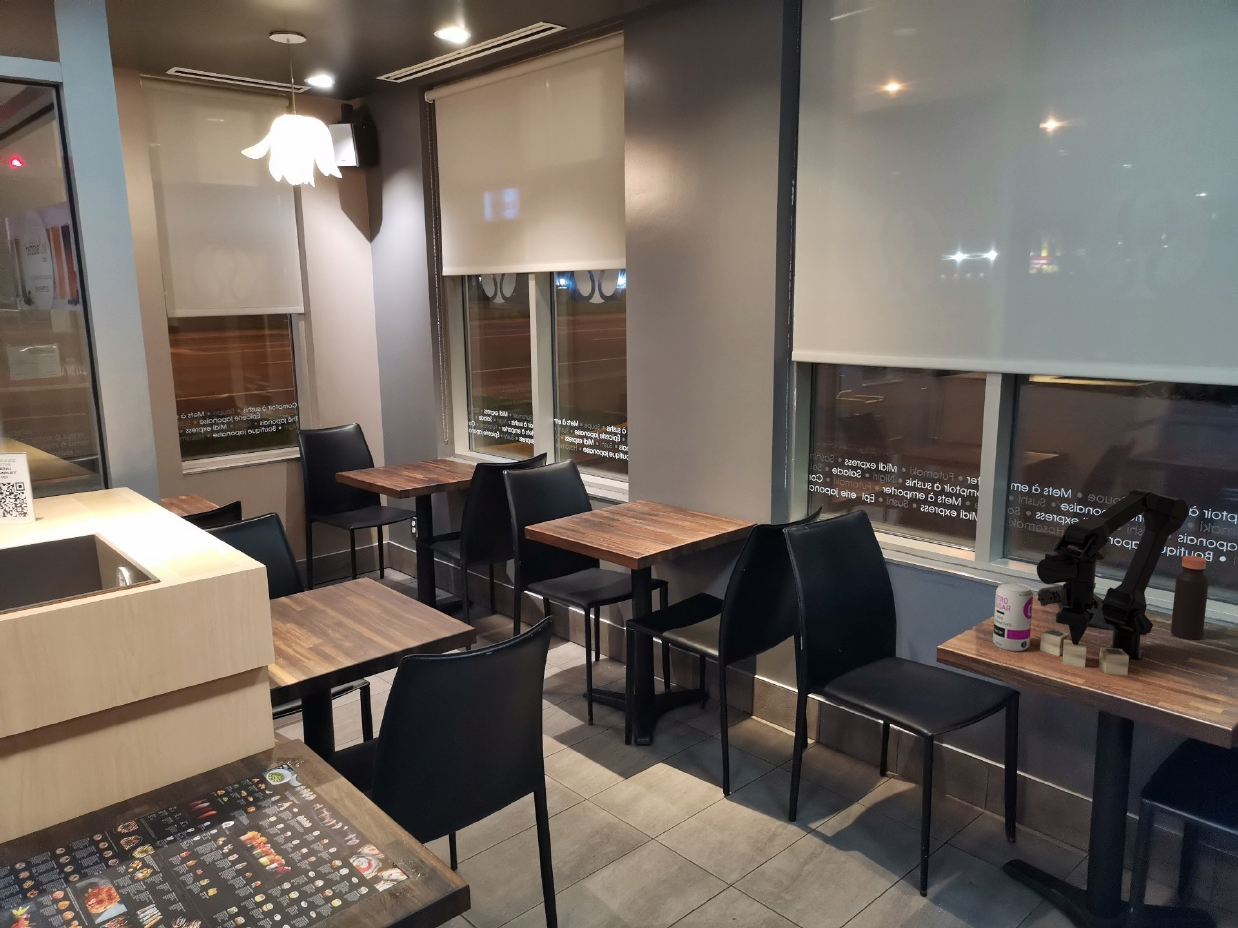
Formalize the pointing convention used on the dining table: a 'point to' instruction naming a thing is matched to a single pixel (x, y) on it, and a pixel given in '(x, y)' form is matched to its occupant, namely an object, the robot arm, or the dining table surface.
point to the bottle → (1190, 599)
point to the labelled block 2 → (1113, 661)
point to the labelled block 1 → (1053, 641)
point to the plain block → (1074, 653)
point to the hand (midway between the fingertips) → (1075, 643)
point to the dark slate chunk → (1096, 616)
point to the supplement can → (1013, 616)
